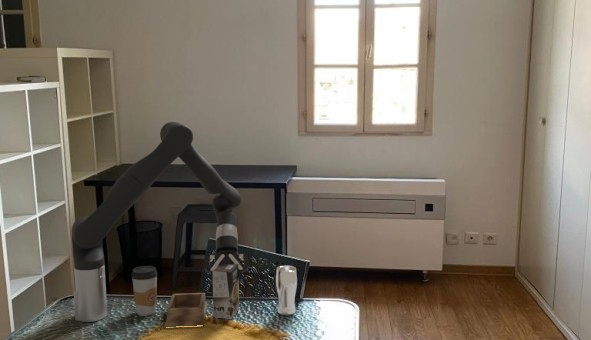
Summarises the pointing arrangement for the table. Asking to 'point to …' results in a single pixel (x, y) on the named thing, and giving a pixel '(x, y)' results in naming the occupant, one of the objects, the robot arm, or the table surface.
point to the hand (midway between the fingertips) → (226, 282)
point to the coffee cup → (145, 289)
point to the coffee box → (225, 291)
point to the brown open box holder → (186, 310)
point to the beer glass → (286, 289)
